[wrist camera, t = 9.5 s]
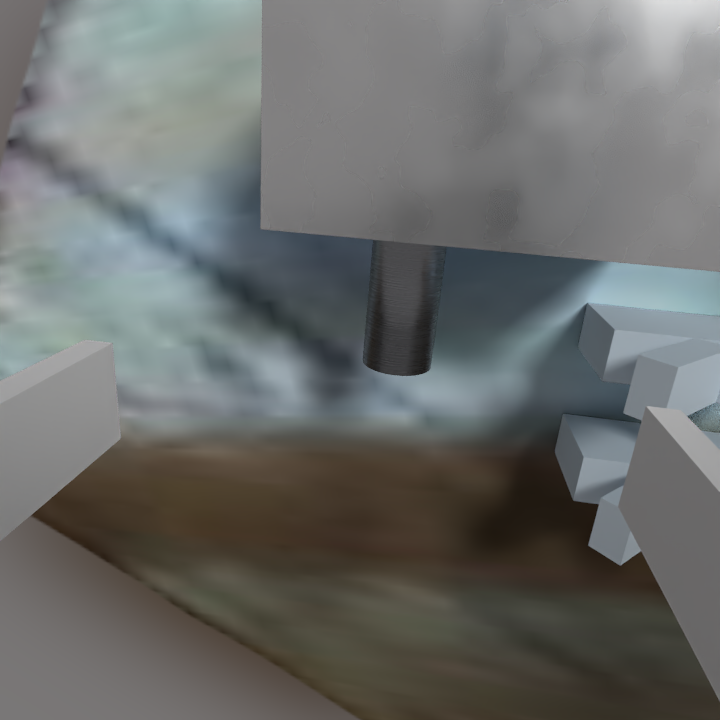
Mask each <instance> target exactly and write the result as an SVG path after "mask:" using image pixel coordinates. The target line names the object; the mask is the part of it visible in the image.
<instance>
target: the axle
mask: <svg viewBox="0 0 720 720" xmlns="http://www.w3.org/2000/svg"><path fill="white" fill-rule="evenodd" d="M446 247H447V246H436V245H425V244H414V243H404V242H393V241H382V240H373V246H372V258H371V270H370V281H369V293H368V305H367V316H366V328H365V340H364V351H363V363H364V364H365V365H366V366H367V367H369V368H371V369H373V370H375V371H378V372H381V373H385V374H390V375H399V376H412V375H419V374H423V373H425V372H427V371H429V370H430V368H431V361H432V353H433V346H434V338H435V330H436V323H437V315H438V308H439V300H440V293H441V285H442V278H443V270H444V263H445V255H446Z"/></svg>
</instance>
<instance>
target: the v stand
mask: <svg viewBox="0 0 720 720" xmlns="http://www.w3.org/2000/svg"><path fill="white" fill-rule="evenodd" d="M578 349H579V350H580V351H581V353H582V354H583V356H584V357H585V358H586V360H587V361H588V362H589V364H590V365H591V367H592V368H593V369H594V371H595V372H596V373H597V375H598V376H599V378H600V379H601V380H602V381H603V382H612V383H620V384H629V385H630V389H629V393H628V396H627V400H626V404H625V408H624V412H623V413H624V414H626V415H629V416H631V417H634V418H636V419H639V420H641V421H642V418H643V414H644V411H645V407H646V406H651V407H660V408H668V409H677V410H681V411H682V412H683V413H684V414H685V415H686V416H688V415H690V414H692V413H694V412H696V411H699V410H701V409H703V408H705V407H707V406H709V405H711V404H713V403H719V404H720V316H710V315H700V314H690V313H680V312H671V311H661V310H651V309H641V308H631V307H621V306H611V305H601V304H592V303H587V308H586V312H585V317H584V321H583V326H582V330H581V335H580V339H579V344H578ZM640 425H641V423H635V422H627V421H619V420H611V419H603V418H595V417H587V416H579V415H571V414H563V416H562V420H561V425H560V429H559V434H558V438H557V443H556V447H555V455H556V457H557V460H558V462H559V465H560V468H561V470H562V473H563V475H564V478H565V481H566V483H567V486H568V488H569V491H570V494H571V496H572V499H573V501H579V502H586V503H593V504H599V506H598V510H597V514H596V518H595V522H594V525H593V529H592V533H591V537H590V541H589V544H588V546H590V547H591V548H593V549H595V550H596V551H598V552H599V553H601V554H603V555H604V556H606V557H607V558H609V559H611V560H612V561H614V562H615V563H617V564H618V565H620V566H621V565H622V564H623V563H625V562H626V561H628V560H629V559H630V558H632V557H633V556H635V555H636V554H637V553H639V552H640V551H641V550H640V548H639V546H638V544H637V542H636V540H635V538H634V536H633V534H632V532H631V530H630V529H629V527H628V525H627V523H626V521H625V519H624V517H623V515H622V513H621V511H620V509H619V507H618V505H619V501H620V497H621V494H622V490H623V487H624V483H625V479H626V476H627V472H628V469H629V465H630V461H631V458H632V454H633V451H634V447H635V443H636V440H637V436H638V432H639V429H640ZM702 432H703V433H704V434H705V435H706V436H707V437H708V438H709V439H710V440H711V441H712V442H713V443H714V444H715V445H716V446H717V447H718V448H719V450H720V433H716V432H708V431H702Z"/></svg>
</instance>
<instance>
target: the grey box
mask: <svg viewBox="0 0 720 720" xmlns="http://www.w3.org/2000/svg"><path fill="white" fill-rule="evenodd" d="M260 229H263V230H274V231H285V232H295V233H306V234H317V235H328V236H339V237H349V238H360V239H371V240H382V241H393V242H404V243H414V244H425V245H436V246H447V247H458V248H468V249H479V250H490V251H501V252H512V253H522V254H533V255H544V256H555V257H566V258H576V259H587V260H598V261H609V262H620V263H630V264H641V265H652V266H663V267H674V268H684V269H695V270H706V271H717V272H720V0H262V98H261V225H260Z"/></svg>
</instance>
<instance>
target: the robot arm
mask: <svg viewBox="0 0 720 720" xmlns="http://www.w3.org/2000/svg"><path fill="white" fill-rule="evenodd" d="M120 439H121V432H120V421H119V410H118V399H117V388H116V376H115V365H114V354H113V343H108V342H99V341H91V340H83V341H81V342H79V343H77V344H75V345H73V346H71V347H69V348H67V349H65V350H63V351H61V352H59V353H57V354H55V355H53V356H50V357H48V358H46V359H44V360H42V361H40V362H38V363H36V364H34V365H32V366H30V367H28V368H26V369H24V370H22V371H20V372H18V373H16V374H14V375H12V376H10V377H8V378H5V379H3V380H1V381H0V541H1V540H2V539H4V538H5V537H6V536H7V535H8V534H9V533H10V532H12V531H13V530H14V529H15V528H17V526H19V525H20V524H21V523H22V522H24V521H25V520H26V519H27V518H28V517H29V516H31V515H32V514H33V513H34V512H35V511H36V510H38V509H39V508H40V507H41V506H42V505H43V504H45V503H46V502H47V501H48V500H49V499H51V498H52V497H53V496H54V495H55V494H56V493H58V492H59V491H60V490H61V489H62V488H63V487H65V486H66V485H67V484H68V483H69V482H70V481H72V480H73V479H74V478H75V477H76V476H77V475H79V474H80V473H81V472H82V471H83V470H85V469H86V468H87V467H88V466H89V465H90V464H92V463H93V462H94V461H95V460H96V459H97V458H99V457H100V456H101V455H102V454H103V453H104V452H106V451H107V450H108V449H109V448H110V447H111V446H113V445H114V444H115V443H116V442H117V441H119V440H120ZM618 507H619V509H620V511H621V513H622V515H623V517H624V519H625V521H626V523H627V525H628V527H629V529H630V530H631V532H632V534H633V536H634V538H635V540H636V542H637V544H638V546H639V548H640V550H641V552H642V554H643V555H644V557H645V559H646V561H647V563H648V565H649V567H650V569H651V571H652V573H653V575H654V577H655V578H656V580H657V582H658V584H659V586H660V588H661V590H662V592H663V594H664V596H665V598H666V600H667V601H668V603H669V605H670V607H671V609H672V611H673V613H674V615H675V617H676V619H677V621H678V623H679V625H680V626H681V628H682V630H683V632H684V634H685V636H686V638H687V640H688V642H689V644H690V646H691V648H692V649H693V651H694V653H695V655H696V657H697V659H698V661H699V663H700V665H701V667H702V669H703V671H704V672H705V674H706V676H707V678H708V680H709V682H710V684H711V686H712V688H713V690H714V692H715V694H716V696H717V697H718V699H719V701H720V450H719V448H718V447H717V446H716V445H715V444H714V443H713V442H712V441H711V440H710V439H709V438H708V437H707V436H706V435H705V434H704V433H703V432H702V431H701V430H700V429H699V428H698V427H697V426H696V425H695V424H694V423H693V422H692V421H691V420H690V419H689V418H688V417H687V416H686V415H685V414H684V413H683V412H682V411H681V410H677V409H668V408H660V407H651V406H646V407H645V411H644V414H643V418H642V422H641V425H640V429H639V432H638V436H637V440H636V443H635V447H634V451H633V454H632V458H631V461H630V465H629V469H628V472H627V476H626V479H625V483H624V487H623V490H622V494H621V497H620V501H619V505H618Z"/></svg>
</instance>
